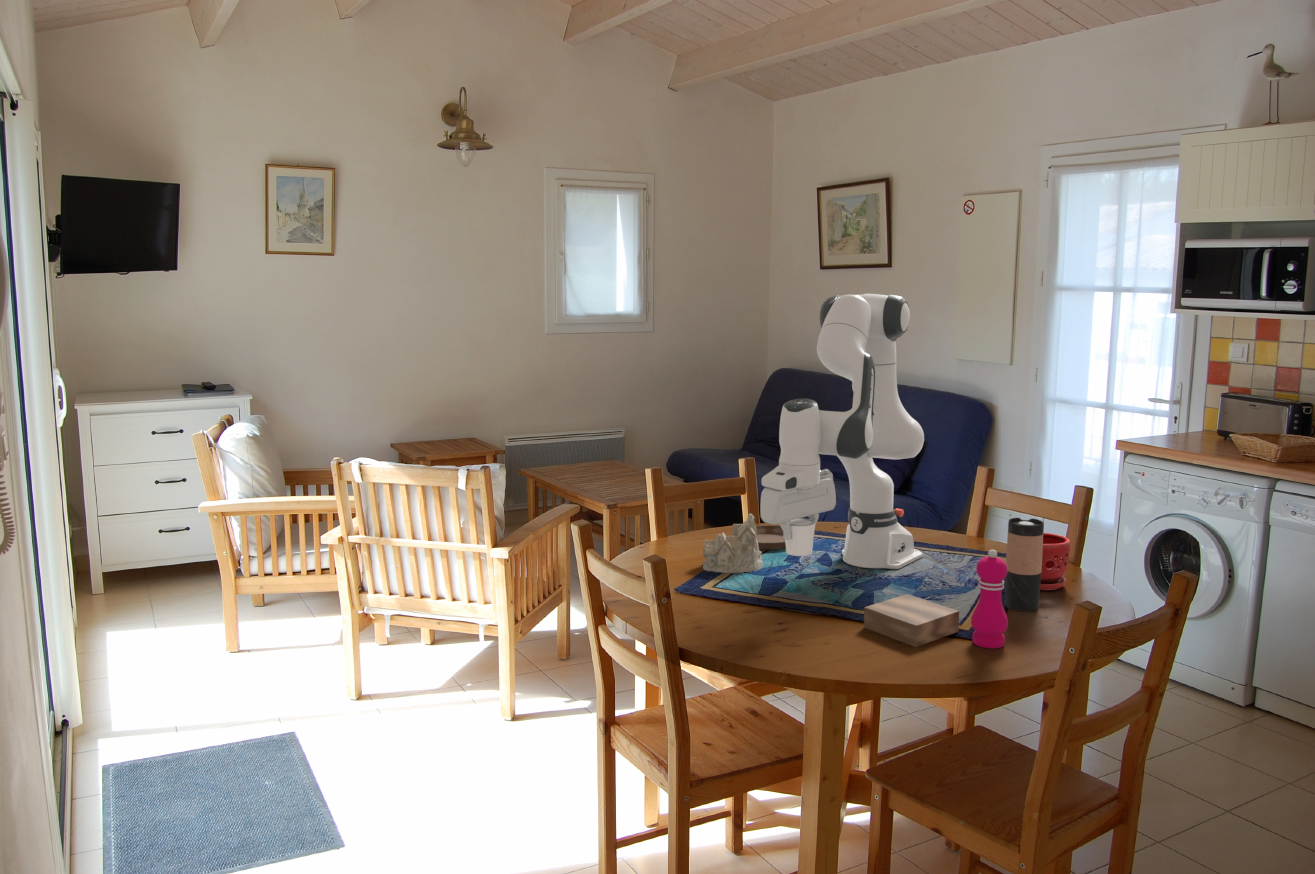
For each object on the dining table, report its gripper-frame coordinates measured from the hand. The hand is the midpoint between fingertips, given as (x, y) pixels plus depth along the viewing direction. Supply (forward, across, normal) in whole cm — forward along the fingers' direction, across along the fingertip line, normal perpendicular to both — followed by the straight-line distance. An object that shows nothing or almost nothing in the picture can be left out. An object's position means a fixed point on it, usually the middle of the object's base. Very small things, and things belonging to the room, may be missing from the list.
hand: (799, 536), depth 214 cm
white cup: (+4, 0, 0) cm, 4 cm away
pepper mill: (+19, -20, +35) cm, 45 cm away
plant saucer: (+20, -38, -48) cm, 64 cm away
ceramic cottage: (+20, -16, -39) cm, 47 cm away
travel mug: (+20, -44, +27) cm, 56 cm away
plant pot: (+20, -62, +21) cm, 68 cm away
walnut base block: (+19, -14, +20) cm, 31 cm away
